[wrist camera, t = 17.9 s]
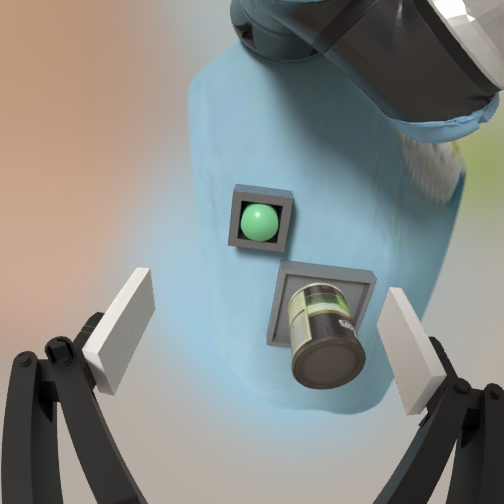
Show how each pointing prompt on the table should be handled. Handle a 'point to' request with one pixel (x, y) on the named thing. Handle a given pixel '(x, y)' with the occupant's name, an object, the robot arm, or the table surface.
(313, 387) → the coffee can
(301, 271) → the shallow gray tray
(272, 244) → the button housing
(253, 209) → the button
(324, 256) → the table surface
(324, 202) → the table surface
